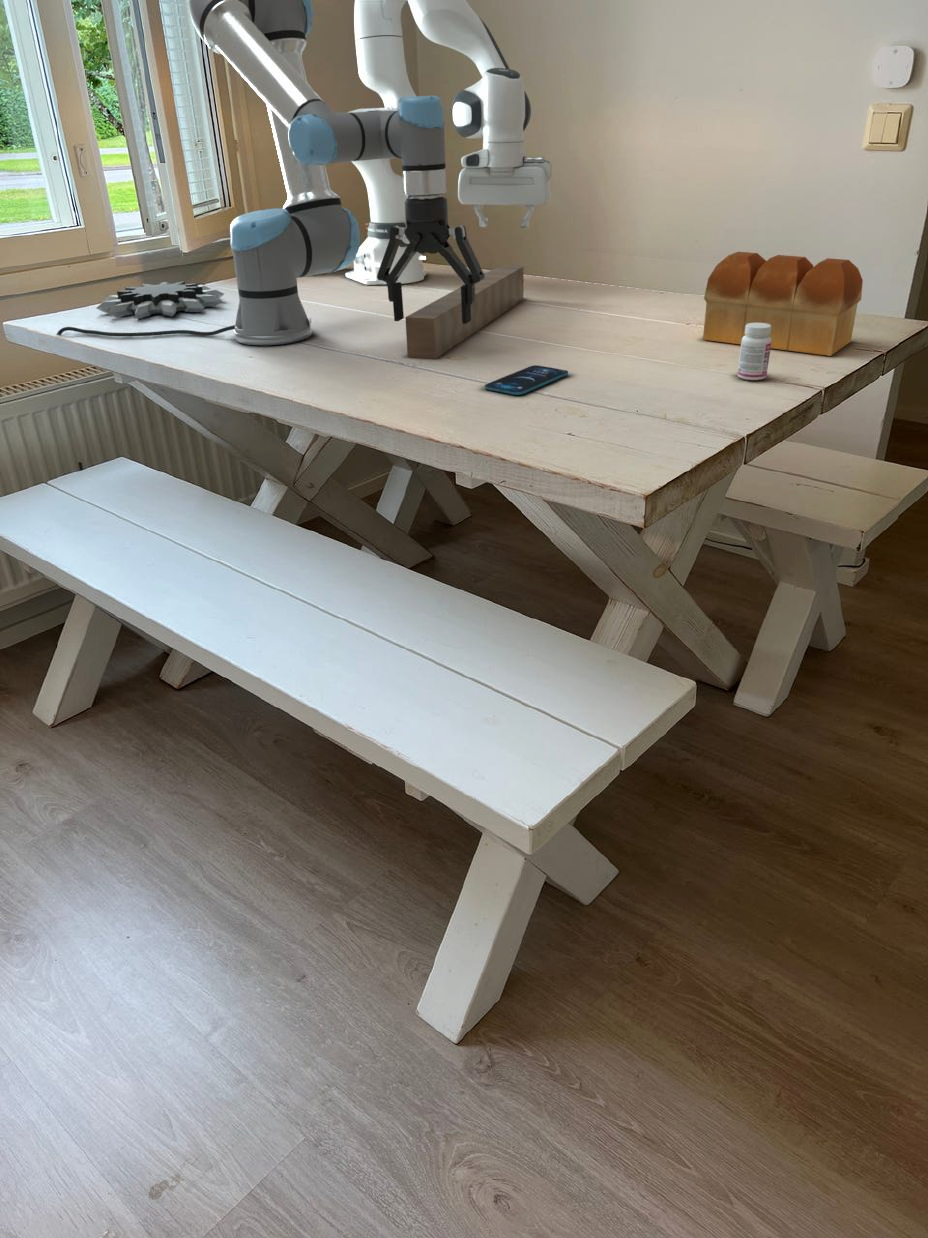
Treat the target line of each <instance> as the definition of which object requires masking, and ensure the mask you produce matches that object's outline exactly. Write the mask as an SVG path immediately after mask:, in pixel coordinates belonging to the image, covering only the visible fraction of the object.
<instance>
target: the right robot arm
mask: <svg viewBox="0 0 928 1238" xmlns="http://www.w3.org/2000/svg"><path fill="white" fill-rule="evenodd" d="M406 3H407V4H408V5H409V8H410V11H411V15H412V17H413V19H414V22H415V24H416V26H417V27H418V29H419V30H420V32H421V33H422V35H423V36H424V37H425V38H426V39H427V40H429V41H431V42H433V43H435V44H437V45H440V46H443V47H447V48H449V49H452V50H455V51H456V52H459V53H461V54H463V55H464V56H466V57H467V58H469V59H470V60H471V61H472V62H473V63H474V65H475V66H476V68H477V70H478V72H479V74H480V76H481V78H480V80H478V81H476V82H475V83H474V84H473V85H470V86H468V87H466V88H463V89H460V90H459V91H458V92H457V93H456V95H455V96H454V98H453V100H452V103H451V108H450V117H451V118H450V119H451V123H452V126H453V128H454V130H455V132H456V133H457V134H458V135H459V136H460V137H462V138H465V139H471V140H472V139H473V140H474V139H482V149H476V150H475V151H473V152H471V153H468V154H466V155H463V156H462V157H461V159H460V160H461V166H462V167H463V168H462V169H461V171H460V172H459V176H458V183H457V200H458V201H459V203H460V204H461V205H473V211H474V212H475V214H476V216H477V218H478V219H479V225H478V226H479V227H480V228H488V227H489V217H485V215H484V213H483V211H482V210H483V209H484V205H485V206H486V205H489V206H525V212H527V213H526V215H525V216H524V217H523V218H521V219H520V229H529V228H530V219H531V218H532V215H533V214H534V211H535V209H536V208H535V207H536V206H540V207H541V206H542V207H543V206H546V205H548V204H549V203H550V202H551V200H552V191H551V189H552V188H551V180H550V179H551V177H552V164H551V162H550V161H549V159H546V158H545V157H544V156H538V157H535V156H526V137H525V133H524V132H525V131H526V128H527V127H528V125H529V123H530V120H531V116H532V105H531V101H530V97H529V96H528V94H527V92H526V91H525V87H524V86H525V85H524V81H523V77H522V75H521V73H520V72H518V71H517V70H515V69H511V68H510V67H509V64H508V63H507V61H506V58H505V57H504V55H503V53H502V52H501V49H500V48H499V46H498V43H497V42H496V39H495V38H494V36H493V34H492V32H491V31H490V28H489V27H488V26H487V24H486V23H485V21H484V20H483V19H482V18H481V17H480V16H479V15H478V14H477V13H476V12H475V11H474V10H473V8H472V7H471V6H470V4H469V2H468V1H467V0H354V4H353V5H354V7H353V10H354V11H353V26H354V42H355V43H354V44H355V53H356V62H357V63H356V65H357V71H358V77H359V79H360V81H361V82H362V84H363V85H364V86H365V87H367V88H368V89H370V90H372V91H373V92H376V94H378V95H379V97H380V98H381V101H382V102H383V105H384V107H376V108H375V107H371V108H370V107H369V108H358V109H354V110H350V111H348V112H346V113H353V112H366V111H374V110H380V111H398V102H399V99H400V98H402V97H417V96H418V95H417V94H416V93H415V90H414V89H413V87H412V84H411V83H410V79H409V76H408V70H407V64H406V57H405V49H404V35H403V27H402V10H403V7H404V5H405V4H406ZM393 159H394V160H395V159H397V158H386V159H374V160H363V161H350V162H351V163H352V165H354V166H355V167H356V169H357V170H358V172H359V173H360V176H361V177H362V179H363V182H364V184H365V187H366V191H367V198H368V206H369V217H370V221H369V222H367V223H364V225H365V226H366V227H365V229H366V230H367V232H366V233H367V234H366V236H367V237H366V239H365V240H364V241H363V242H362V243H361V244H360V245H359V250H358V253H357V254H356V258H355V260H354V261H353V268H348V267H347V268H345V269H341V270H342V271H347V272H345V278H347V279H349V280H350V279H351V280H353V281H356V282H358V283H361V284H363V285H367V286H368V285H369V286H372V285H373V286H374V285H387V283H386V282H385V281H382V280H378V279H377V274H378V271H379V268H380V266H381V263H382V260H383V257H384V254H385V251H386V248H387V246H388V243H389V240H390V228H391V227H393V226H396V225H399V226H400V227H403V228H406V217H405V201H406V199H407V198H408V196H406V195H405V194H404V187H403V176H402V175H399V174H398V173H395V172H394V171H393V169H392V165H391V160H393ZM409 243H410V242H409V240H408V239H407V237H406V236H405V235H404V236H403V238H402V239H401V241H400V244H399V247H398V250H397V252H396V255H395V258H394V261H393V264H392V266H391V269H390V272H389V274H390V273H391V271H392V270H393V268H394V267H395V265H396V264H397V262H398V261H399V259H400V258H401V256H402V255H403V253H404V251H405V249H406V247H407V246H408V244H409ZM423 260H424V261H425V260H427V257H426V255H422V254H420V253H418V252H416V253H415V255H414V256H413V257H412V259H411V260H410V262H409V263H408V265H407V266H406V268H405V269H404V271H403V272H402V274H401V275H400V277H399V278H398V281H396V283H397V282H401V285H403V284H411V283H416V282H420V281H423V280H425V277H426V276H427V270H424V264H423ZM341 270H340V271H341Z"/></svg>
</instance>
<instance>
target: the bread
mask: <svg viewBox="0 0 928 1238" xmlns="http://www.w3.org/2000/svg"><path fill="white" fill-rule="evenodd" d="M863 281H864V280H863V277H862V275H861V272H860V270H859V268H858V267H857V266H856V265H855V264H854V263H853V262H852V261H851V260H850V259H843V258H842V259H841V258H829V257H827V258H825V259H823V260H821V261H819V262H818V263H816V264H815V265H814V264H813V263H812V262H811V261H810V260H809V259H808V258H807V257H806V256H798V255H797V256H796V255H785V254H783V255H782V254H776V255H774V256H772V257H770V258H768V259H767V260H766V259H765V258H764V257H762V255H760V254H759V253H758V252H750V251H749V252H748V251H736V252H734V253H731V254H728V255H727V256H726V257H725V258H723V259H722V260H721V261H720V262H718V264H717V265H715V267H714V269H713V270H712V272H711V273H710V275H709V277H708V278H707V282H706V288H705V292H704V297H703V300H704V301H705V312H704V313H705V314H704V324H703V335H702V340H704V341H712V342H720V343H726V344H735V345H741V341H742V338H743V337H744V336H745V335H746V334H745V327H746V324H748V323H766V324H770V325H771V333H770V335H769V337H770V338H771V349H775V350H783V351H789V352H790V351H791V352H798V353H805V354H814V355H821V356H829V357H831V356H832V355H834V354H835V353H837V352H838V351H840V350H841V349H843V348H844V347H845V346H847V345H848V344H850V343H851V342H852V339H853V338H852V336H853V333H854V332H853V331H854V326H855V320H856V314H857V309H858V304H859V302H861V301H862V293H863V283H864V282H863Z"/></svg>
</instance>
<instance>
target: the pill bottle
mask: <svg viewBox="0 0 928 1238" xmlns="http://www.w3.org/2000/svg"><path fill="white" fill-rule="evenodd" d="M770 333H771V325H770V324H766V323H748V324H746V327H745V334H746V335H745V336H744V337H743V338H742V341H741V344H740V348H739V349H740V350H739V356H738V357H739V358H738V367H737V377H738V378H740V379H742V380H748V381H759V380H764V379H766V378H767V377H768V376H767V375H768V369H769V362H770V355H771V349H772V348H771V338H770V337H769V335H770Z"/></svg>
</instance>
